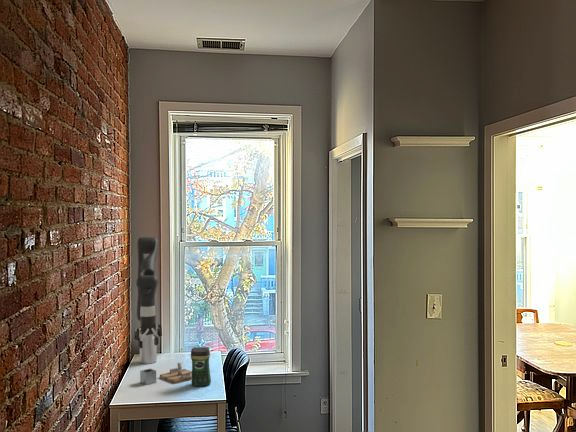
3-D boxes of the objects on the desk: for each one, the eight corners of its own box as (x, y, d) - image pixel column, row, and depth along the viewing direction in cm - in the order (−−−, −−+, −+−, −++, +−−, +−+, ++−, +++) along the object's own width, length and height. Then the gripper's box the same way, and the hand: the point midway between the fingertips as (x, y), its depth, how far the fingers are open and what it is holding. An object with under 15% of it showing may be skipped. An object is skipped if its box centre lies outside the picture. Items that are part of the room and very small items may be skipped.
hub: (140, 382, 287) (140, 370, 287) (150, 380, 291) (150, 368, 291) (146, 385, 283) (145, 373, 283) (156, 382, 287) (156, 370, 287)
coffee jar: (211, 382, 286) (211, 345, 286) (209, 386, 278) (208, 349, 278) (192, 382, 286) (192, 345, 286) (189, 387, 279) (189, 349, 278)
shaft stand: (159, 377, 295) (159, 363, 295) (184, 371, 306) (184, 357, 305) (175, 383, 284) (174, 368, 284) (200, 377, 295) (199, 363, 294)
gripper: (156, 311, 294) (157, 343, 295) (131, 315, 285) (132, 347, 285) (164, 313, 289) (164, 345, 289) (138, 317, 279) (139, 350, 279)
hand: (148, 346), depth 287 cm, fingers open, 8 cm apart
